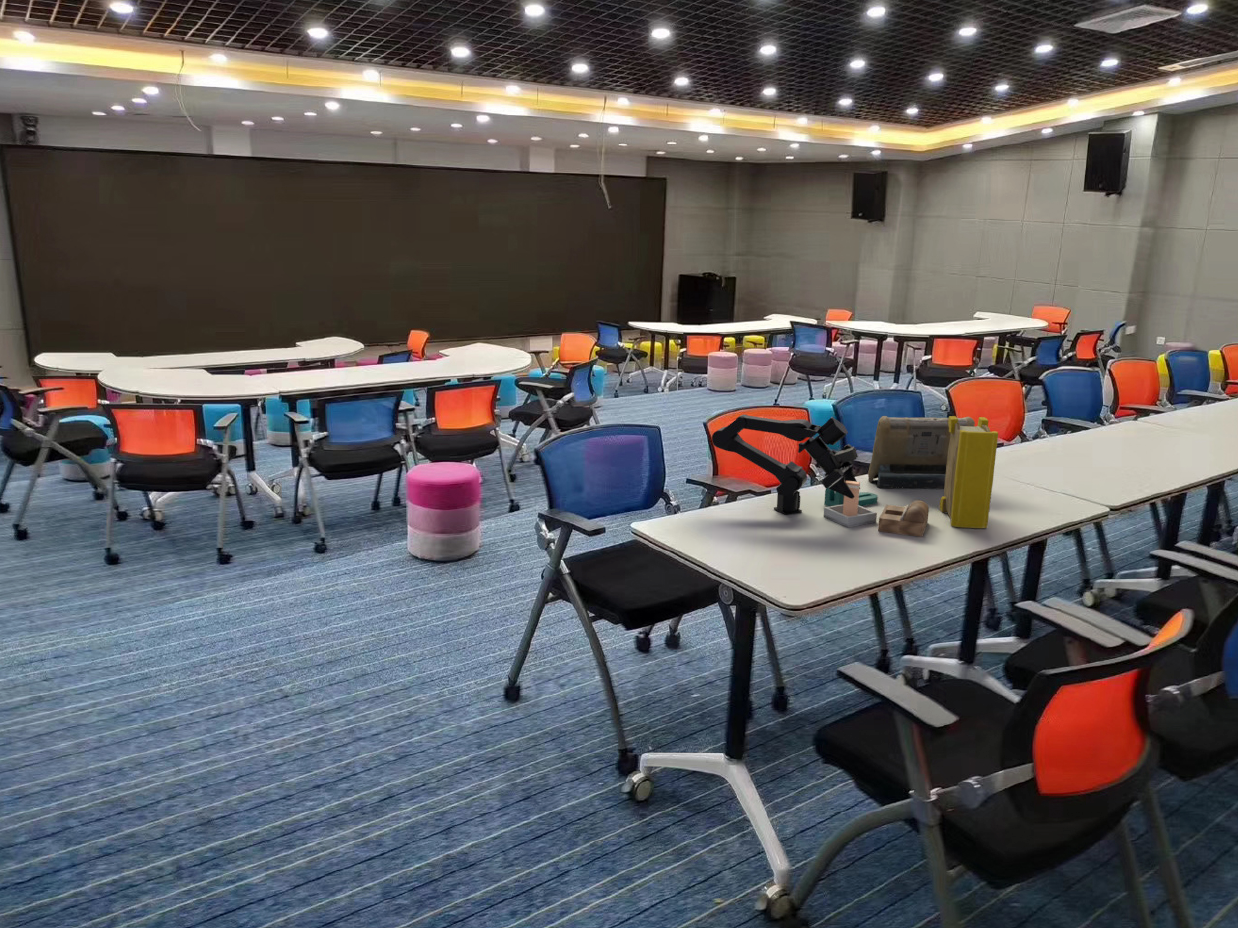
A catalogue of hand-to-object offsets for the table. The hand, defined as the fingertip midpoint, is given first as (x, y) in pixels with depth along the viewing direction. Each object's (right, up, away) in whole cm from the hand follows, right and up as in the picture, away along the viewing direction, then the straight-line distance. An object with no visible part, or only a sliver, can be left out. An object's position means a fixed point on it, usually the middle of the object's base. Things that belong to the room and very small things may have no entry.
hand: (856, 493), depth 255 cm
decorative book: (+34, -8, +4) cm, 35 cm away
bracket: (+4, -4, +18) cm, 19 cm away
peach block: (-1, -7, +3) cm, 8 cm away
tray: (-1, -8, +3) cm, 8 cm away
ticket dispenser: (+13, -10, -4) cm, 17 cm away
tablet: (+32, +2, +39) cm, 51 cm away
